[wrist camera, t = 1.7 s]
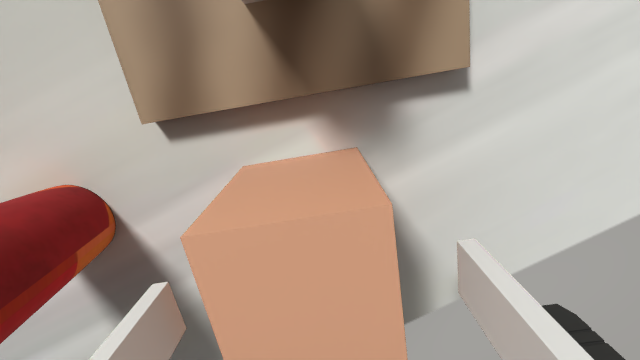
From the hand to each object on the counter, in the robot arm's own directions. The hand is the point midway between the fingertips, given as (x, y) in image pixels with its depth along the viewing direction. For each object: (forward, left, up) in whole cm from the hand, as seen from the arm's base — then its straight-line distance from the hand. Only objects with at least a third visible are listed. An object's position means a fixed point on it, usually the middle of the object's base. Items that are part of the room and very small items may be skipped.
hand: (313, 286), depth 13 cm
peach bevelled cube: (0, 0, -9) cm, 9 cm away
